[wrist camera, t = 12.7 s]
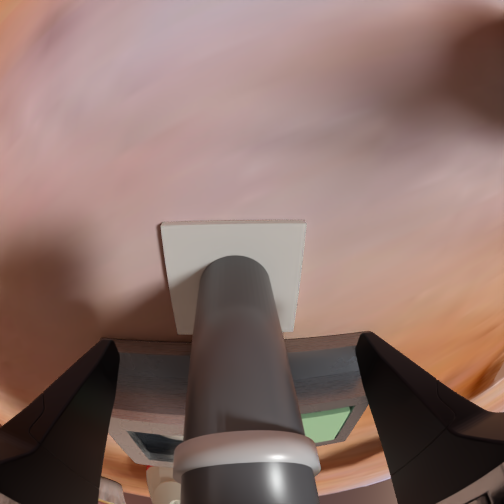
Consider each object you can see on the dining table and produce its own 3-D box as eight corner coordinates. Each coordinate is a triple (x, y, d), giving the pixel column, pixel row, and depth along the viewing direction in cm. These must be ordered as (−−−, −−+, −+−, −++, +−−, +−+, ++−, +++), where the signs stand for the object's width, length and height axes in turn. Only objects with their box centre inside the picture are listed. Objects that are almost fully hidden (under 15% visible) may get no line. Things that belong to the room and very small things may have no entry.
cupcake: (99, 484, 33) (94, 524, 25) (71, 467, 29) (62, 512, 20) (140, 491, 33) (136, 535, 24) (112, 476, 29) (106, 527, 20)
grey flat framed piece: (329, 424, 21) (339, 463, 17) (148, 430, 20) (143, 471, 16) (369, 331, 16) (397, 383, 12) (100, 338, 14) (78, 393, 11)
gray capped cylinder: (277, 250, 12) (352, 503, 3) (272, 315, 14) (313, 523, 5) (191, 251, 12) (150, 514, 3) (198, 317, 13) (186, 530, 5)
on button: (327, 418, 18) (333, 439, 16) (270, 425, 18) (273, 448, 16) (342, 386, 16) (350, 411, 14) (275, 394, 16) (279, 421, 14)
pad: (291, 326, 15) (293, 331, 14) (178, 329, 14) (177, 334, 14) (304, 220, 12) (306, 223, 12) (162, 222, 12) (160, 225, 11)
